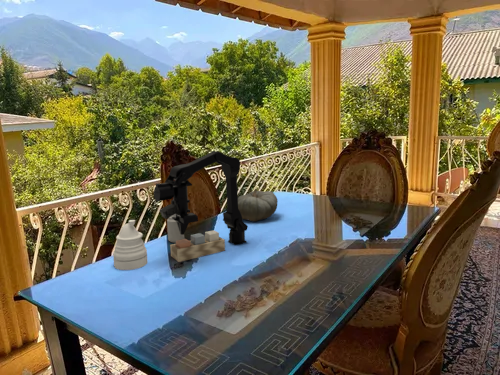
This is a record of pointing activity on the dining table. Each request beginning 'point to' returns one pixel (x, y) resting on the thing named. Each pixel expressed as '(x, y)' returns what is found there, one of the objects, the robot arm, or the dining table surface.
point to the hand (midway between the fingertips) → (182, 234)
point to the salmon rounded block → (182, 243)
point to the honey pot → (129, 248)
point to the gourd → (257, 205)
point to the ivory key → (211, 236)
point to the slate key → (197, 239)
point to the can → (173, 230)
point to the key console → (197, 250)
